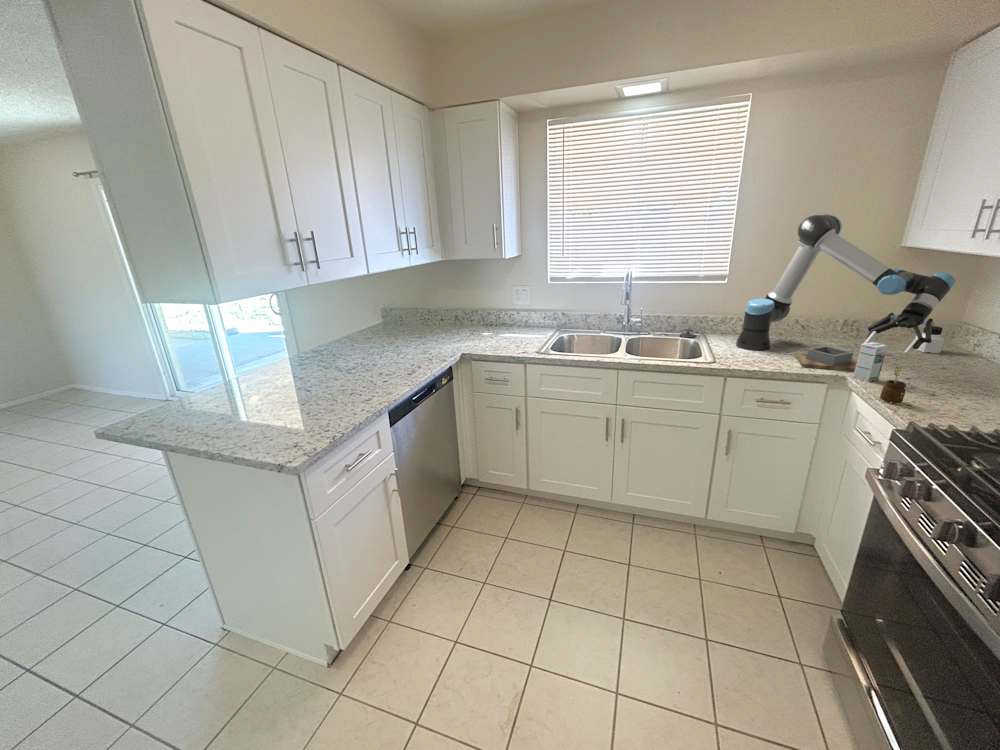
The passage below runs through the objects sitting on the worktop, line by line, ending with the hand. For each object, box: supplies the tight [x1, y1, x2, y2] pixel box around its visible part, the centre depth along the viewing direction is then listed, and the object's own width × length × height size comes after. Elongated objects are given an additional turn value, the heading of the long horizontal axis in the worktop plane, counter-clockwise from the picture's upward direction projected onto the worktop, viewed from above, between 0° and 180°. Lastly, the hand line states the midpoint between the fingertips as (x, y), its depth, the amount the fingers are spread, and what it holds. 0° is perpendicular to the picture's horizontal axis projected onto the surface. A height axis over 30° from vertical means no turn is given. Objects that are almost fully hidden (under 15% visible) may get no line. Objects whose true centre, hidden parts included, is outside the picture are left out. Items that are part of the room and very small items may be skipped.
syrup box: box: [853, 341, 888, 382], centre depth 165 cm, size 6×6×14 cm
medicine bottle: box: [914, 325, 946, 354], centre depth 195 cm, size 7×7×12 cm
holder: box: [806, 345, 854, 366], centre depth 184 cm, size 12×12×4 cm
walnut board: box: [793, 352, 857, 372], centre depth 185 cm, size 22×17×2 cm
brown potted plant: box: [879, 365, 907, 404], centre depth 145 cm, size 6×6×12 cm
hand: (884, 349), depth 164 cm, fingers open, 13 cm apart
